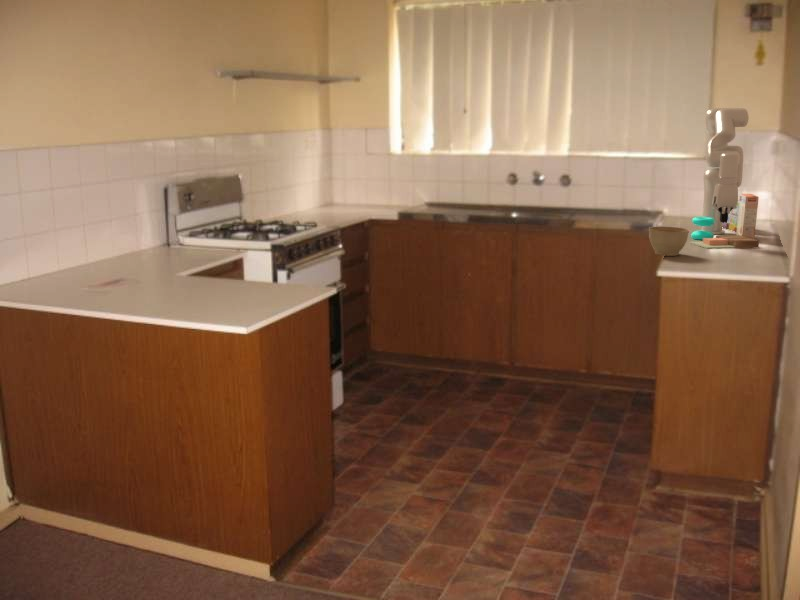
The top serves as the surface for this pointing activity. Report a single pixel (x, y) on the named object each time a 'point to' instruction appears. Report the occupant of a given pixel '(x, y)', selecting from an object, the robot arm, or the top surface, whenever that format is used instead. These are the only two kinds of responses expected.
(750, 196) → the cracker box
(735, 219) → the snack box
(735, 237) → the board
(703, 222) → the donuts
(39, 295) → the top surface
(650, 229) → the planter bowl
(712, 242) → the coral block
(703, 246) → the sage mat
